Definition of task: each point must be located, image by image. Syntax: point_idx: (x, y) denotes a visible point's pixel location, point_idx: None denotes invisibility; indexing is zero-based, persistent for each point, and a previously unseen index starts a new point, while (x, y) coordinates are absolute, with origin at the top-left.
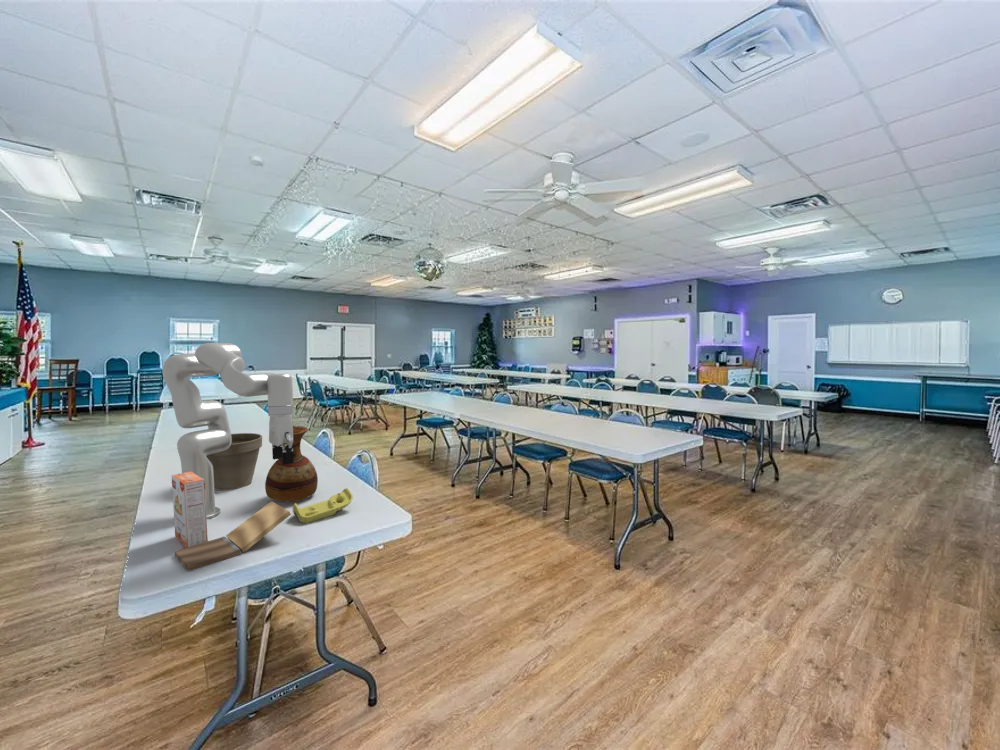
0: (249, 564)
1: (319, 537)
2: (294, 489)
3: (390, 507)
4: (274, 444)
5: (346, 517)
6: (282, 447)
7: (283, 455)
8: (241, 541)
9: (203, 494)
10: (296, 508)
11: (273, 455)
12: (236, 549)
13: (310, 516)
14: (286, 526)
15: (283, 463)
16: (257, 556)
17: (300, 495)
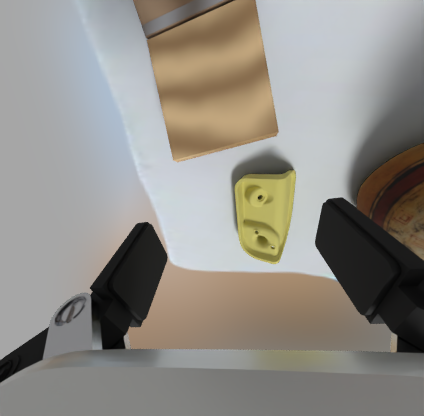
0: (98, 60)
1: (169, 185)
2: (377, 196)
3: (224, 270)
4: (140, 377)
5: (224, 228)
6: (75, 347)
7: (110, 269)
8: (176, 40)
9: None
10: (267, 178)
11: (343, 216)
12: (148, 26)
13: (235, 191)
14: (247, 149)
15: (136, 227)
16: (130, 79)
17: (361, 198)
